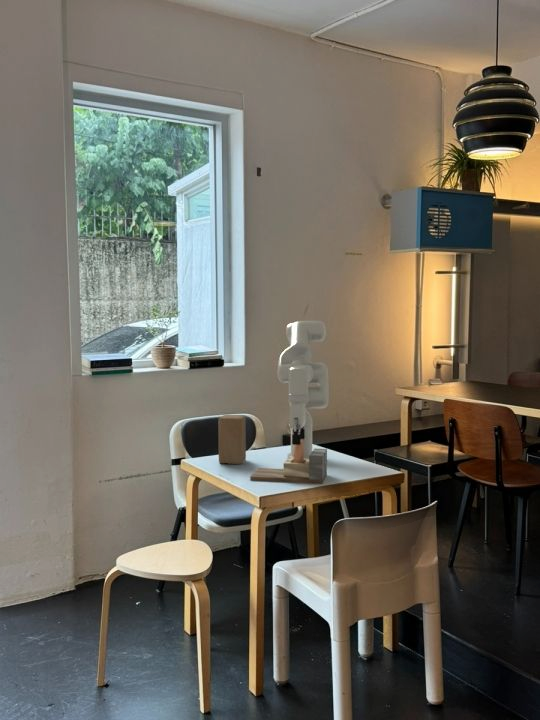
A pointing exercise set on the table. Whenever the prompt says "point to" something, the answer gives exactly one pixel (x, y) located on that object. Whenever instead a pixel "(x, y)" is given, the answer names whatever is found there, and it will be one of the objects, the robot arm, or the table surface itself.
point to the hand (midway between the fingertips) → (298, 441)
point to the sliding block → (296, 468)
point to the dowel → (298, 453)
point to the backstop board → (315, 476)
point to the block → (232, 439)
